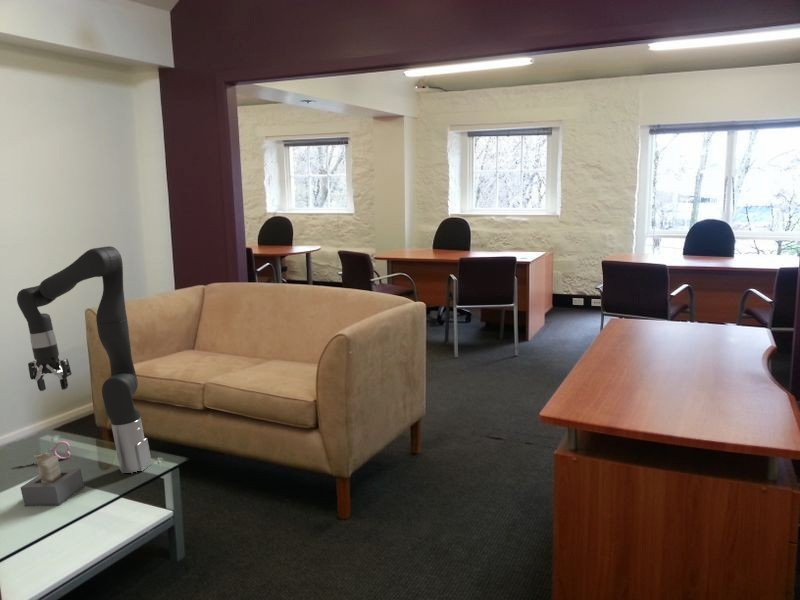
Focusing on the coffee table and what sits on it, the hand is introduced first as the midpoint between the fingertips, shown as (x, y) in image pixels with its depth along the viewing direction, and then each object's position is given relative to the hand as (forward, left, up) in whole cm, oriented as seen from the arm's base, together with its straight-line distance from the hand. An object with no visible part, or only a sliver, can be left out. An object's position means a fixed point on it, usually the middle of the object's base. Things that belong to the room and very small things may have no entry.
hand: (53, 389), depth 221 cm
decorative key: (+14, -3, -28) cm, 32 cm away
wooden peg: (-12, +23, -27) cm, 38 cm away
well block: (-12, +23, -28) cm, 38 cm away
